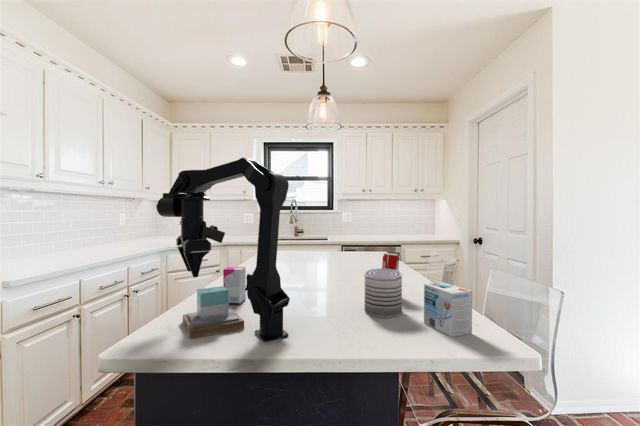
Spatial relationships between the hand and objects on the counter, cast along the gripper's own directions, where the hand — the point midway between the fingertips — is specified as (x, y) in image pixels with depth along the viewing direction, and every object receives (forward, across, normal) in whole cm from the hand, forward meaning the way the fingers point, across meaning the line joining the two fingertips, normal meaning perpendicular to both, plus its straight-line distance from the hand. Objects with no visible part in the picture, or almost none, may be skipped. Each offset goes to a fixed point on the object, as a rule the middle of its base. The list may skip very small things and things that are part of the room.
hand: (192, 274), depth 88 cm
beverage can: (+13, -8, -65) cm, 67 cm away
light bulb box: (+13, -39, -56) cm, 70 cm away
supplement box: (+13, +12, -15) cm, 23 cm away
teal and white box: (+10, -6, -4) cm, 13 cm away
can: (+13, -20, -51) cm, 56 cm away
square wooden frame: (+13, -6, -4) cm, 15 cm away
